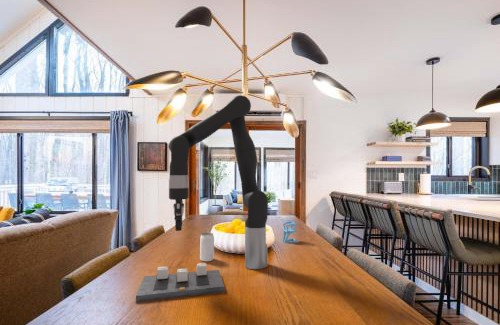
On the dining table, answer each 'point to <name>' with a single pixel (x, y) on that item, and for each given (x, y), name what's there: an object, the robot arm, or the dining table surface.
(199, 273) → the breaker
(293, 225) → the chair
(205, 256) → the can
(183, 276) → the breaker
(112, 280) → the dining table surface
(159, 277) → the breaker
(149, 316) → the dining table surface
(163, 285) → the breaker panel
